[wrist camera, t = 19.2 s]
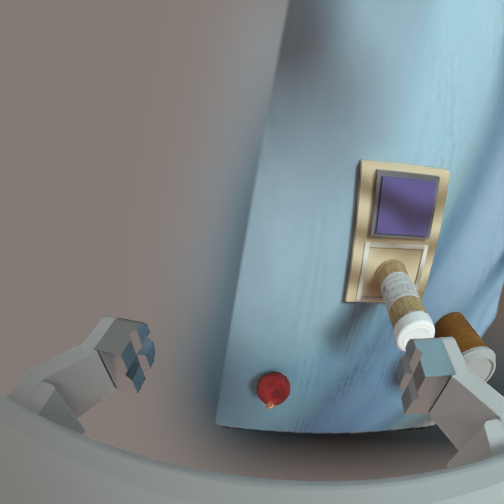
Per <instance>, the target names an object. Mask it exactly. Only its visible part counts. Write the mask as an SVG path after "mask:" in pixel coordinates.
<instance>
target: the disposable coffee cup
mask: <svg viewBox="0 0 504 504" xmlns="http://www.w3.org/2000/svg"><path fill="white" fill-rule="evenodd" d="M434 337H435V338H439V337H453V338H454V339H455V341H456V343H457V345H458V347H459V349H460V352H461V354H462V356H463V358H464V361H465V363H466V365H467V368H468V370H469V372H470V373H474V374H475V375H477V376H478V377H479V378H481V379H482V380H483V381H484V382H487V381H488V380H489V379H490V377H491V376H492V374H493V373H494V371H495V367H496V363H495V359H496V357H495V354H494V352H493V351H492V350H491V349H489V348H488V347H486V345H485V343H484V342H483V341H482V339H481V338H480V337H479V335H478V334H477V333H476V331H475V330H474V329H473V327H472V326H471V325H470V324H469V322H468V321H467V320H466V319H465V317H464V316H463V315H462V314H461V313H458V312H453V313H449V314H447V315H445V316H443V317H442V318H441V319H440V320H439V321H438V322H437V323H436V325H435V335H434Z"/></svg>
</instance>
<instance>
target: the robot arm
mask: <svg viewBox="0 0 504 504" xmlns="http://www.w3.org/2000/svg"><path fill="white" fill-rule="evenodd" d="M149 332H150V331H149V328H148V326H147V324H146V323H144V322H139V321H133V320H128V319H122V318H116V317H111V316H105V317H103V318H102V319H101V320H100V322H99V323H98V324H97V326H96V327H95V328H94V330H93V331H92V332H91V334H90V335H89V336H88V338H87V339H86V340H85V342H84V343H83V344H82V345H81V346H75V347H73V348H72V349H70V350H68V351H66V352H64V353H62V354H60V355H58V356H56V357H54V358H52V359H50V360H48V361H46V362H44V363H42V364H40V365H38V366H36V367H35V368H32V369H30V370H28V371H26V372H25V373H24V374H23V376H22V377H21V378H20V379H19V381H18V382H17V383H16V385H15V386H14V388H13V389H12V390H11V392H10V393H9V394H8V396H7V397H5V396H4V395H2V394H0V504H504V397H503V396H502V395H500V394H499V393H498V392H497V391H495V390H494V389H493V388H491V386H489V385H488V384H487V383H486V382H484V381H483V380H482V379H481V378H479V377H478V376H477V375H475V374H474V373H470V372H469V370H468V368H467V365H466V363H465V361H464V358H463V356H462V354H461V352H460V349H459V347H458V345H457V343H456V341H455V339H454V338H453V337H439V338H421V339H410V340H409V341H408V342H407V345H406V347H405V349H406V353H407V354H406V355H405V356H403V357H402V358H401V360H400V363H399V366H398V373H397V376H398V384H399V387H400V388H401V389H402V390H403V391H404V393H403V395H402V397H401V399H402V403H403V408H404V413H405V415H406V414H421V413H429V415H430V417H431V418H432V419H433V420H434V421H435V423H436V424H437V425H438V426H439V427H440V428H441V430H442V431H443V432H444V433H445V435H446V436H447V437H448V438H449V439H450V441H451V442H452V443H453V444H454V446H455V447H456V448H457V449H458V450H459V452H458V453H457V454H456V455H455V456H454V457H453V458H452V459H451V460H450V461H449V462H448V464H447V466H448V469H443V470H438V471H433V472H427V473H421V474H415V475H409V476H401V477H393V478H385V479H373V480H358V481H328V482H327V481H325V482H324V481H288V480H273V479H262V478H252V477H243V476H236V475H229V474H223V473H217V472H211V471H205V470H200V469H195V468H190V467H186V466H181V465H177V464H173V463H169V462H165V461H161V460H157V459H153V458H150V457H146V456H143V455H139V454H136V453H133V452H130V451H126V450H123V449H120V448H117V447H114V446H111V445H109V444H106V443H103V442H100V441H97V440H95V439H92V438H90V437H87V436H85V435H84V433H85V429H84V427H83V426H82V424H81V423H80V422H79V420H78V419H77V418H79V417H80V416H81V415H83V414H84V413H85V412H87V411H88V410H89V409H91V408H92V407H94V406H95V405H96V404H98V403H99V402H100V401H102V400H103V399H104V398H106V397H107V396H108V395H110V394H111V393H112V392H114V391H115V390H116V389H120V390H125V391H129V392H134V393H138V392H139V390H140V388H141V386H142V384H143V382H144V380H145V376H144V372H146V371H147V370H149V369H150V368H151V366H152V364H153V362H154V356H155V349H154V344H153V342H152V341H151V340H150V339H149V338H148V337H147V336H148V334H149ZM115 388H116V389H115Z"/></svg>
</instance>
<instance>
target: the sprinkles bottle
mask: <svg viewBox="0 0 504 504" xmlns="http://www.w3.org/2000/svg"><path fill="white" fill-rule="evenodd" d="M376 274H377V275H376V278H377V281H378V283H379V285H380V288H381V292H382V295H383V299H384V302H385V305H386V308H387V311H388V314H389V317H390V319H391V322H392V325H393V334H394V338H395V341H396V344H397V346H398V347H399V348H400V349H401V350H402V351H405V352H406V349H405V347H406V345H407V342H408V341H409V340H410V339H421V338H434V335H435V327H434V324H433V322H432V320H431V318H430V316H429V315H428V314H427V312H426V310H425V308H424V306H423V303H422V301H421V299H420V297H419V294H418V292H417V289H416V287H415V285H414V283H413V281H412V279H411V277H410V276H409V274H408V272H407V270H406V267H405V265H404V264H403V263H402V262H401V261H399V260H394V259H392V260H388V261H385V262H384V263H382V264H381V265H380V267H379V268H378V270H377V273H376Z"/></svg>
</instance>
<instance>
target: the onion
mask: <svg viewBox="0 0 504 504" xmlns="http://www.w3.org/2000/svg"><path fill="white" fill-rule="evenodd" d="M257 393H258V396H259V398H260V399H261V400H262V401H263V402H264V403H265V404H267V405H266V407H267V408H268V409H272V408H273V407H274V406H275V405H279V404H281V403H283V402H284V401H285V400H286V399H287V397H288V396H289V393H290V383H289V381H288V379H287V377H286V376H284V375H283V374H281V373H278V372H271V373H268V374H266V375H264V376H263V377H262V378H260V380H259V382H258V384H257Z"/></svg>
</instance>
